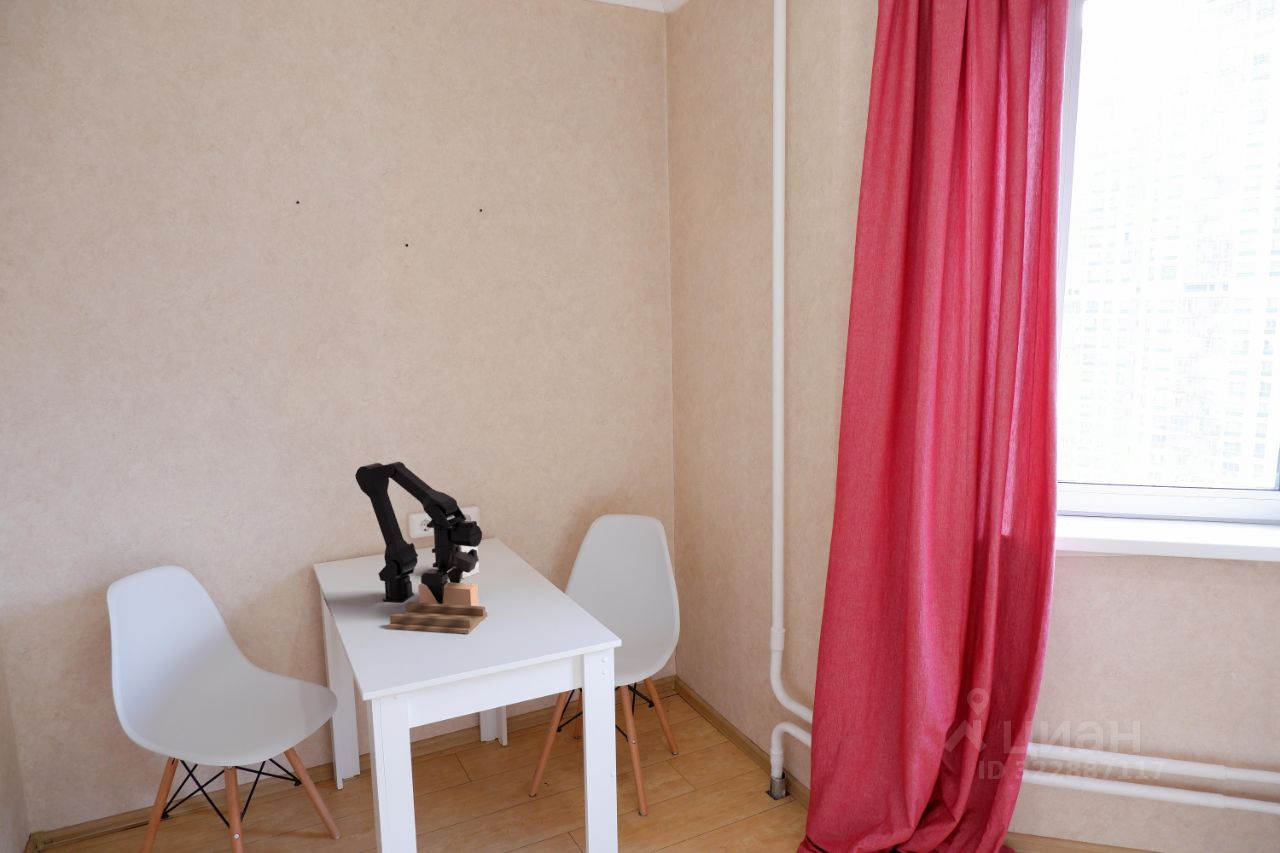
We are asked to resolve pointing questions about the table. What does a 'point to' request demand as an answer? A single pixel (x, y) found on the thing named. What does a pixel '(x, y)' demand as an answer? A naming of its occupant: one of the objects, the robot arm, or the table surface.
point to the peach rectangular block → (452, 594)
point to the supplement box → (476, 570)
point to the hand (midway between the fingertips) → (448, 598)
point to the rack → (438, 618)
